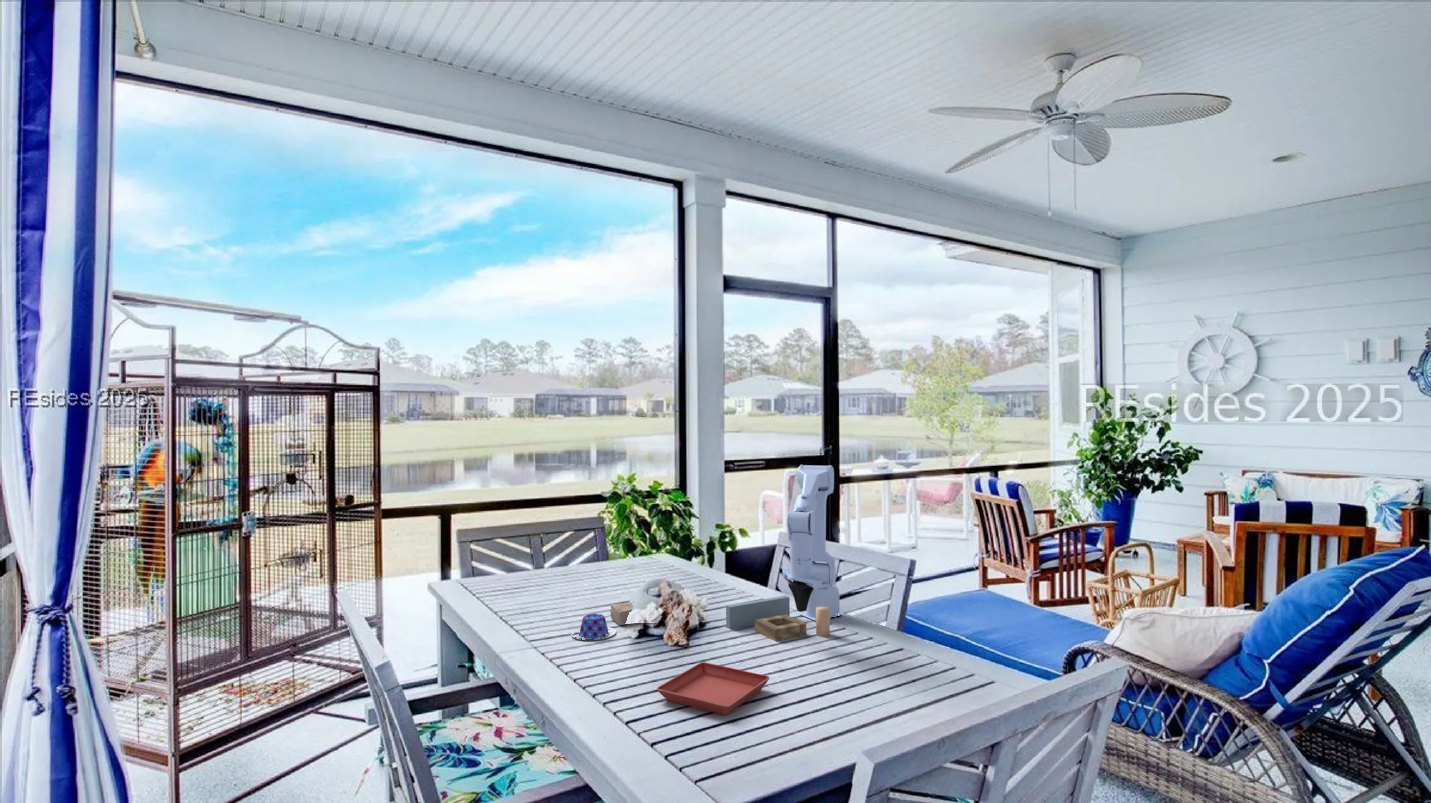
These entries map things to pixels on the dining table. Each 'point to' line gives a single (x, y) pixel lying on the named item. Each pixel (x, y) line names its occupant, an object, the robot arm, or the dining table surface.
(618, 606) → the brick
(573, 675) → the dining table surface
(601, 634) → the pudding
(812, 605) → the robot arm
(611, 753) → the dining table surface
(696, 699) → the plant saucer
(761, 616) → the wall
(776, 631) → the socket block
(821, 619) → the dowel
